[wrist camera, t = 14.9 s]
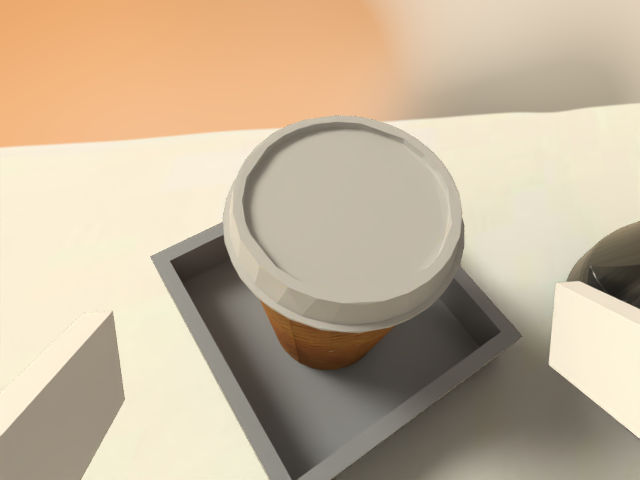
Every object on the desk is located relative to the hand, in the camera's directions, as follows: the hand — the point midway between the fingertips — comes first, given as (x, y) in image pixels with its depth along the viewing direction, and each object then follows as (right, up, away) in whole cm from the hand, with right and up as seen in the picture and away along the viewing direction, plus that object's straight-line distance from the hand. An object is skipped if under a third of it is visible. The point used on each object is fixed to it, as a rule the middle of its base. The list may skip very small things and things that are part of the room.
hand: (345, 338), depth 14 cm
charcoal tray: (0, -2, +14) cm, 15 cm away
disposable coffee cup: (0, -2, +14) cm, 14 cm away
